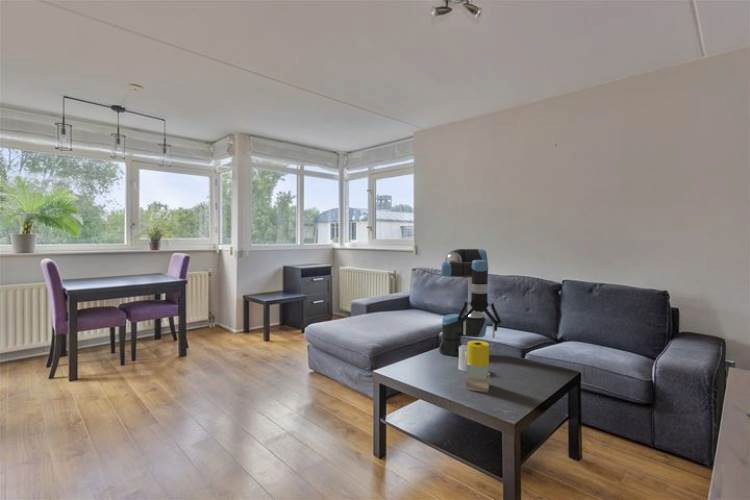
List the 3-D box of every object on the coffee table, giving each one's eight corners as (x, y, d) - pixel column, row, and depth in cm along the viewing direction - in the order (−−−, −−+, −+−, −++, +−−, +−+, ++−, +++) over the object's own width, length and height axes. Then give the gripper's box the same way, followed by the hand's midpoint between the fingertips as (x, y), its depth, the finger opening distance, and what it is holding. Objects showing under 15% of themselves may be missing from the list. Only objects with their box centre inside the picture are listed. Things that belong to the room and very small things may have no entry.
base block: (469, 381, 186) (469, 370, 186) (489, 385, 182) (489, 373, 182) (465, 389, 177) (466, 377, 176) (487, 393, 173) (487, 380, 173)
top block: (469, 370, 185) (469, 358, 185) (488, 373, 182) (488, 361, 181) (466, 376, 177) (466, 364, 177) (485, 379, 173) (485, 367, 173)
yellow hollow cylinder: (485, 368, 172) (485, 348, 172) (464, 363, 178) (464, 344, 177) (491, 361, 181) (491, 342, 180) (471, 357, 186) (471, 339, 186)
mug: (472, 374, 195) (472, 352, 194) (456, 372, 198) (456, 350, 197) (475, 367, 205) (475, 346, 205) (459, 365, 209) (459, 344, 208)
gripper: (451, 291, 179) (451, 335, 180) (506, 295, 169) (505, 341, 171) (454, 289, 186) (454, 331, 187) (507, 292, 176) (506, 336, 178)
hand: (478, 335), depth 179 cm, fingers open, 13 cm apart
